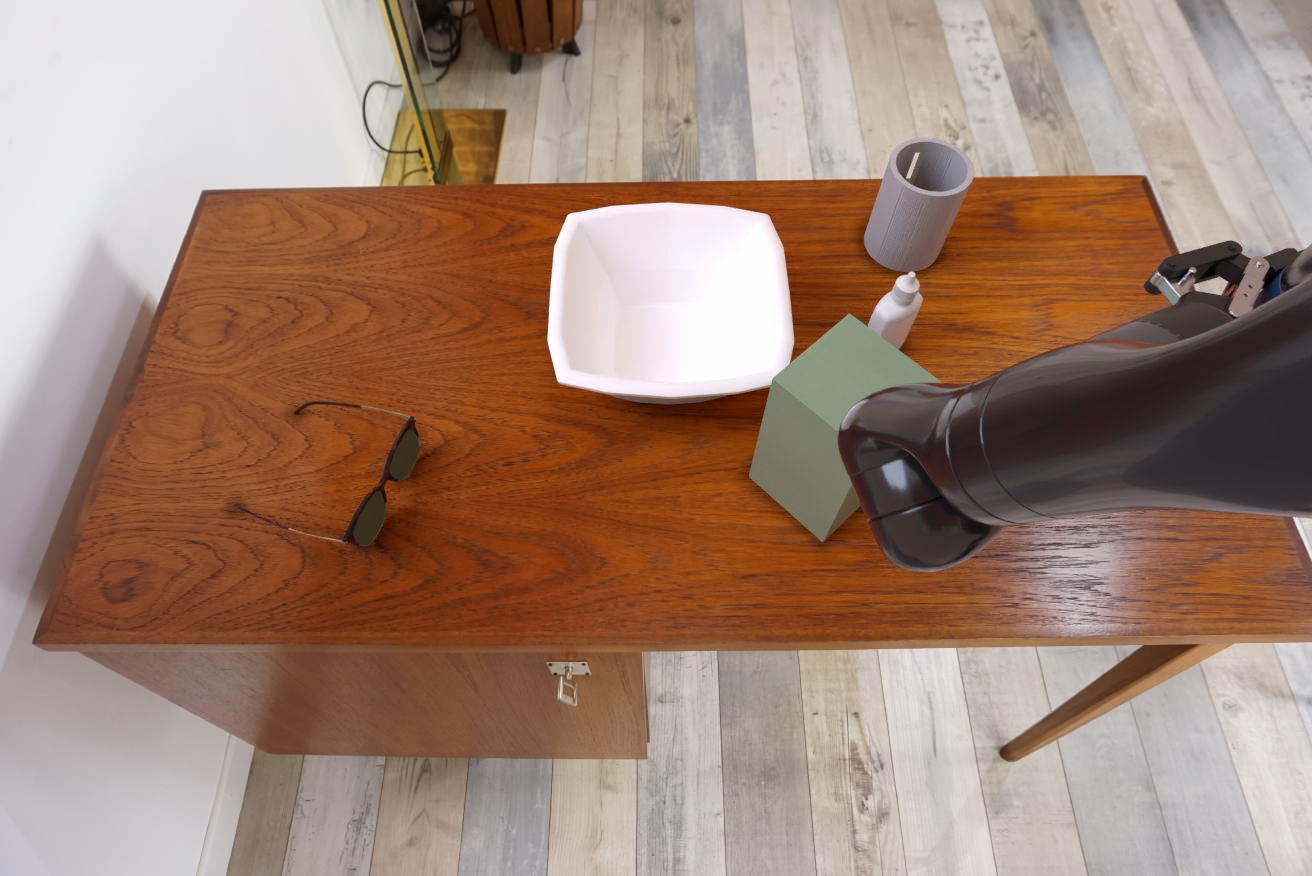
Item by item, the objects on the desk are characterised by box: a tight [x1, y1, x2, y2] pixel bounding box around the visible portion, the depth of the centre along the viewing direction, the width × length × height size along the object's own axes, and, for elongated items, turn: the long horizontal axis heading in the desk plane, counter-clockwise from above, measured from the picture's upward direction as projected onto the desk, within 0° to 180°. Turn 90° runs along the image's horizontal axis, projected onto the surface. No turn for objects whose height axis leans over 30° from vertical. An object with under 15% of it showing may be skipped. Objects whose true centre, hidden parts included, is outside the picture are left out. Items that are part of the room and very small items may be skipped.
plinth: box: [748, 312, 943, 543], centre depth 75 cm, size 10×10×18 cm
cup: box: [863, 137, 975, 273], centre depth 94 cm, size 9×9×12 cm
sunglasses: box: [234, 400, 421, 547], centre depth 80 cm, size 14×15×5 cm
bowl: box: [547, 202, 795, 405], centre depth 86 cm, size 24×25×10 cm
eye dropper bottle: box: [866, 271, 924, 351], centre depth 86 cm, size 4×6×12 cm
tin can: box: [1255, 242, 1312, 305], centre depth 54 cm, size 6×6×12 cm
